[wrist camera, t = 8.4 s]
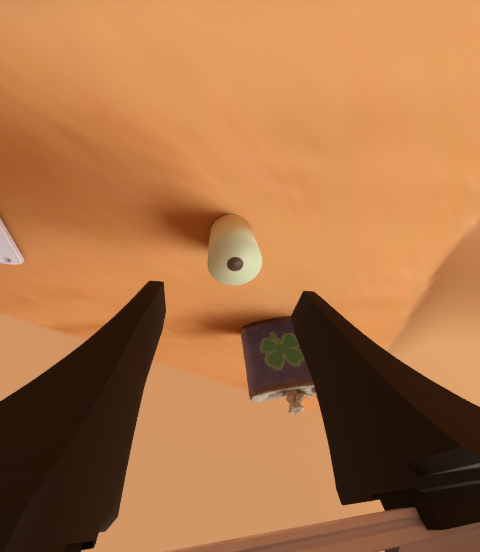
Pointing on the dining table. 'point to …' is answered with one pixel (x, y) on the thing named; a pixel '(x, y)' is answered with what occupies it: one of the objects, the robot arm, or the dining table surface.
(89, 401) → the robot arm
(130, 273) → the dining table surface
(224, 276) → the sage bead
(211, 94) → the dining table surface
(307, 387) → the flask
